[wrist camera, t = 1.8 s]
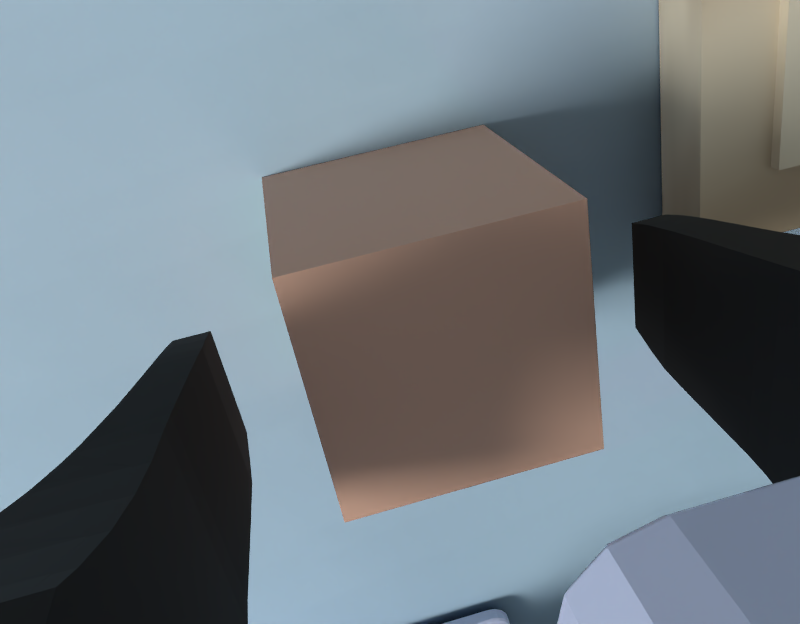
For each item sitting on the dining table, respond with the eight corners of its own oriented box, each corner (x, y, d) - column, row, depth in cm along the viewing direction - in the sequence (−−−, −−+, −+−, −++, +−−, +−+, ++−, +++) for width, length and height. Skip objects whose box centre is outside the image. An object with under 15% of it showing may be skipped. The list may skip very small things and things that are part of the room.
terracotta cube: (507, 318, 17) (603, 448, 12) (316, 368, 16) (344, 522, 12) (482, 123, 15) (587, 199, 10) (261, 176, 14) (272, 277, 10)
